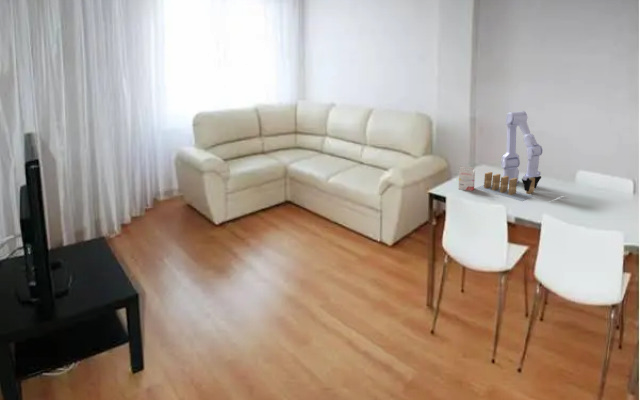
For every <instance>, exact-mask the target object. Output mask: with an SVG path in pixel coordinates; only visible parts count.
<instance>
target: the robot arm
mask: <svg viewBox="0 0 640 400" xmlns="http://www.w3.org/2000/svg"><path fill="white" fill-rule="evenodd" d="M527 121H528V114H527V112H526V111H525V110H522V111H510V112H507V114H506V116H505V125H506V152H505V153H504V154H503V155H502V156H501V159H500V167H501V168H502V169H503V170H502V177H504V176H509V180H508V185H509V181H510V179H513V178H517V183H520V181H519V175H520V172H519V171H520V170H519V167H520V165H521V161H520V155H519V154H518V153H517V152H516V151H517V149H516V148H517V127H519V129H520V131H521V133H522V134H523V138H522V139H523V142H524V144H525V147H526V155H527V156H526V157H527V158H526V159H527V166H526V173H525V175H523V176H522V178H521V182H522V184H523V188H524V191H525V192H526V191H529V189H530V185H531V182H532V180H530V178H532V177H533V178H535V185H534V189H536V188H537V187H538V186H537V185H538V183H539V182H540V180H541V179H542V176H541V173H542V172H541V171H539V164H540V156H542V154H543V147H542V145H540V144H539V143H538V142H537V139H536V138H535V135H534V134H532V133H531V131H530V128H529V125H528V122H527ZM500 183H501V180H500Z"/></svg>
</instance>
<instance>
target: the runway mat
mask: <svg viewBox="0 0 640 400" xmlns="http://www.w3.org/2000/svg"><path fill="white" fill-rule="evenodd" d="M476 189H477V190H480V191H484V192H487V193H492V194H494V195H498V196H502V197H506V198H510V199H513V200H515V201H520V202H524V201H526V200H529V199H531V198H534V197H535V195H531V194H527V193H524V192H521V191H517V190H516V193H515V194H513V195H508V192H509V188H508V191H506V192H503V193H501V192H500V186H499V189H497V190H495V191H493V190H492V185H491V187H489V188H484V184H483V185H481V186H477V187H475V190H476Z"/></svg>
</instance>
